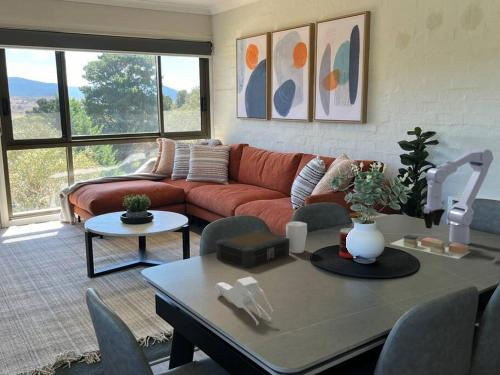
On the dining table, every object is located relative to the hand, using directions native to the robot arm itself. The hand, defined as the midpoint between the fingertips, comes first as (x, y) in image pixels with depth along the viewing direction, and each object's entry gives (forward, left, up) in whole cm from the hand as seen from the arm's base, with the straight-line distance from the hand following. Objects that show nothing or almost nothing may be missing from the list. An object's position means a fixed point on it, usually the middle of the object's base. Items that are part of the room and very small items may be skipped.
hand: (432, 226), depth 207 cm
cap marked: (+1, 0, -8) cm, 8 cm away
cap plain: (+1, +12, -8) cm, 15 cm away
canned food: (+36, -19, -10) cm, 42 cm away
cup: (+46, -39, -10) cm, 61 cm away
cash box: (+64, -47, -10) cm, 80 cm away
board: (+4, +1, -9) cm, 10 cm away
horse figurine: (+104, -13, -10) cm, 105 cm away
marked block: (+7, -6, -8) cm, 13 cm away
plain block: (+7, +6, -8) cm, 13 cm away
